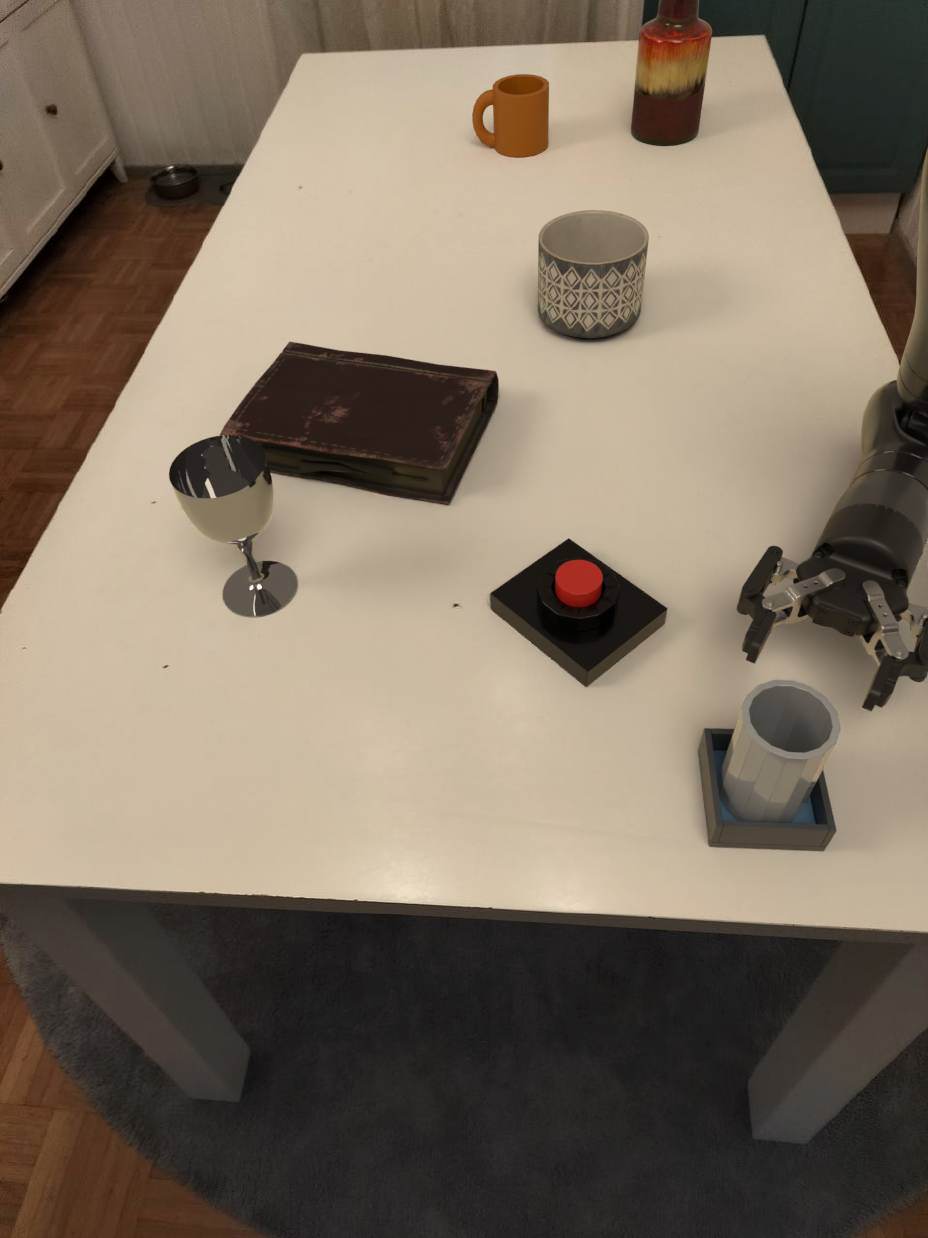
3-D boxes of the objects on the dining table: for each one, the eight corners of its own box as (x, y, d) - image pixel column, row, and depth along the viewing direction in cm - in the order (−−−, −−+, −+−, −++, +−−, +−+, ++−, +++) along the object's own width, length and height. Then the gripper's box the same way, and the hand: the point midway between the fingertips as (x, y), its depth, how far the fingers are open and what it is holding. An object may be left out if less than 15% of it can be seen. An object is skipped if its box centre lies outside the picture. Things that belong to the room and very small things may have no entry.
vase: (683, 150, 139) (703, -3, 123) (620, 139, 142) (631, -11, 127) (708, 124, 144) (730, -25, 129) (646, 114, 148) (660, -32, 133)
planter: (629, 351, 105) (638, 268, 97) (526, 338, 108) (526, 257, 100) (647, 295, 112) (657, 214, 104) (550, 285, 115) (552, 205, 107)
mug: (480, 132, 147) (478, 72, 140) (552, 134, 145) (553, 73, 138) (469, 156, 142) (466, 94, 135) (543, 158, 139) (544, 96, 133)
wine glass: (246, 634, 80) (199, 513, 68) (202, 587, 84) (150, 465, 72) (318, 589, 83) (284, 465, 71) (272, 545, 87) (233, 422, 75)
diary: (299, 372, 106) (291, 334, 102) (499, 402, 100) (498, 363, 96) (226, 471, 95) (214, 434, 91) (446, 512, 89) (443, 474, 85)
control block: (665, 624, 78) (670, 594, 75) (586, 687, 74) (588, 658, 71) (567, 554, 84) (569, 523, 81) (490, 609, 80) (488, 579, 77)
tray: (804, 753, 69) (814, 730, 66) (824, 851, 64) (836, 831, 61) (697, 750, 70) (703, 727, 67) (708, 847, 64) (716, 826, 62)
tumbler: (796, 758, 68) (831, 681, 60) (809, 832, 64) (847, 761, 56) (713, 754, 68) (737, 677, 61) (721, 827, 64) (747, 756, 57)
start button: (611, 590, 76) (612, 576, 75) (578, 615, 74) (579, 601, 73) (577, 566, 78) (578, 552, 77) (545, 589, 77) (545, 576, 75)
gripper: (797, 475, 72) (723, 608, 63) (985, 535, 66) (931, 689, 58) (777, 540, 77) (707, 670, 69) (948, 600, 72) (895, 749, 64)
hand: (809, 679), depth 63 cm, fingers open, 8 cm apart
